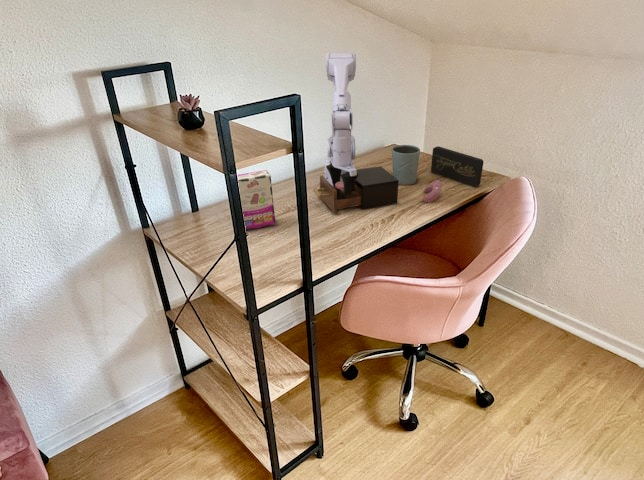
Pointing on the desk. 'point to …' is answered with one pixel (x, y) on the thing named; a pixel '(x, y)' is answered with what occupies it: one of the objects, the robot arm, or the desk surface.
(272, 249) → the desk surface
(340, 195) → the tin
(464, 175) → the nameplate
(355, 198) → the drawer
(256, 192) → the candy bar box
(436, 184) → the pink curved piece
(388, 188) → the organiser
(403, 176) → the green cup
